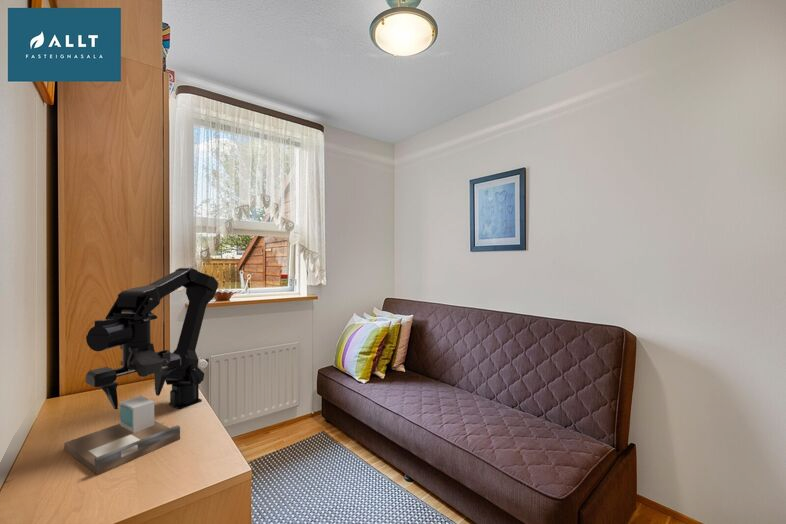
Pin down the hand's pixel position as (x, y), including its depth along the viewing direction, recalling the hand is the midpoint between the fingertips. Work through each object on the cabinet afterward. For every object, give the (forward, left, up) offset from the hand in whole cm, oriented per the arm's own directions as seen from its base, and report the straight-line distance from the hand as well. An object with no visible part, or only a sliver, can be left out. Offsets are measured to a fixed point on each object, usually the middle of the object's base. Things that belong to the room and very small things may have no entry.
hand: (137, 401), depth 87 cm
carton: (0, 0, -6) cm, 6 cm away
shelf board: (+5, +4, -7) cm, 10 cm away
